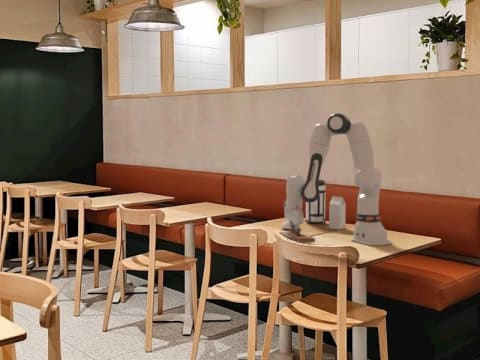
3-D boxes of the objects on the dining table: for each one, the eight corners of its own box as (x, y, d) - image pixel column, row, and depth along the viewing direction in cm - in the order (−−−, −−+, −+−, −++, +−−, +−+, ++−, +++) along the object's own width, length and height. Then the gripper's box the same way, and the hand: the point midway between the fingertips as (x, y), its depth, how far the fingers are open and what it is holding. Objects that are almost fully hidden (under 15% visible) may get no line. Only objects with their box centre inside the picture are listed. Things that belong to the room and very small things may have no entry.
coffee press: (297, 223, 373) (297, 175, 370) (314, 220, 384) (314, 173, 381) (318, 226, 361) (319, 177, 358) (335, 223, 371) (335, 175, 368)
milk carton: (339, 230, 349) (340, 197, 347) (329, 228, 353) (329, 196, 351) (345, 228, 354) (345, 196, 352) (334, 227, 359) (335, 195, 357)
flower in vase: (295, 231, 345) (296, 188, 343) (278, 229, 351) (278, 187, 348) (304, 227, 356) (304, 186, 354) (287, 226, 362) (287, 185, 360)
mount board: (314, 241, 317) (314, 233, 316) (293, 242, 313) (294, 234, 313) (298, 233, 338) (298, 226, 337) (279, 235, 334) (279, 227, 334)
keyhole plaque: (310, 238, 316) (310, 229, 315) (298, 239, 314) (298, 230, 313) (298, 233, 332) (298, 224, 331) (286, 233, 330) (286, 224, 329)
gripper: (306, 207, 319) (306, 232, 320) (292, 202, 338) (292, 226, 340) (295, 207, 317) (295, 233, 318) (282, 202, 337) (282, 226, 338)
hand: (293, 229), depth 329 cm, fingers open, 4 cm apart
